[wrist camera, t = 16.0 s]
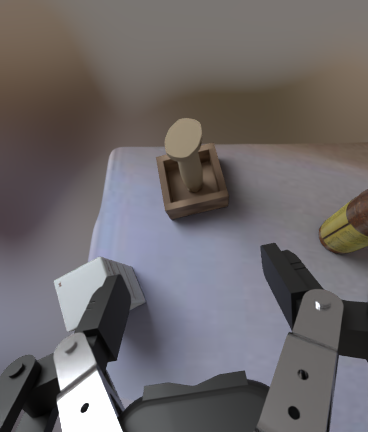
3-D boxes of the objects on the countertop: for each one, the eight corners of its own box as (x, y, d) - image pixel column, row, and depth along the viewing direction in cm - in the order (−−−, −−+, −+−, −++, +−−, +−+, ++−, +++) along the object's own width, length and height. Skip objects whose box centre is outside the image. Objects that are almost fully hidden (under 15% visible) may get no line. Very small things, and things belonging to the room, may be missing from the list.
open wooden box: (214, 157, 47) (213, 142, 43) (227, 206, 43) (228, 195, 39) (162, 170, 48) (155, 157, 44) (171, 219, 44) (165, 210, 40)
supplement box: (110, 322, 40) (64, 334, 28) (98, 283, 42) (51, 279, 31) (147, 302, 40) (117, 307, 28) (133, 265, 43) (99, 254, 31)
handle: (210, 174, 45) (206, 121, 31) (201, 203, 43) (192, 160, 29) (188, 169, 46) (174, 116, 32) (178, 197, 45) (159, 153, 30)
